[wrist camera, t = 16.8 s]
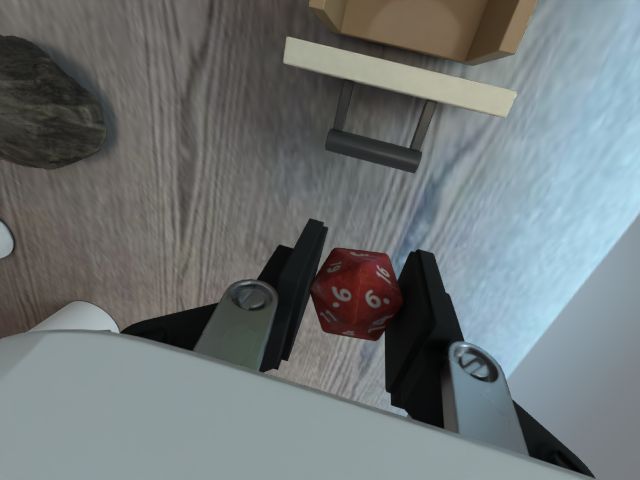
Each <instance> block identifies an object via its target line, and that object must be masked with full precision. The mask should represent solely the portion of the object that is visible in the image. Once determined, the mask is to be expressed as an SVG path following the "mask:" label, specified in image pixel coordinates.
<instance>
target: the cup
mask: <svg viewBox="0 0 640 480" xmlns="http://www.w3.org/2000/svg"><path fill="white" fill-rule="evenodd" d="M53 329H86V330H111V332H115V333H119V329H118V327H117V325H116V323H115V322H114V320H113V319H112V318H111V317H110V316H109V315H108V314H107V313H106V312H105V311H103V310H102V309H101V308H99V307H97V306H95V305H93V304H91V303H88V302H84V301H74V302H71V303H69V304H68V305H66V306H65V307H63V308H62V309H60V310H59V311H57V312H56V313H55V314H53V315H52V316H50V317H49V318H47V319H46V320H44V321H43V322H41V323H40V324H38V325H37V326H35V327H34V328H32V329H31V330H29V331H28V332H33V331H42V330H53Z"/></svg>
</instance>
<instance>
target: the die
mask: <svg viewBox="0 0 640 480" xmlns="http://www.w3.org/2000/svg"><path fill="white" fill-rule="evenodd" d="M309 290H310V293H311V297H312V300H313V303H314V306H315V309H316V312H317V315H318V318H319V321H320V324H321V327H322V330H323V331H324V332H326V333H331V334H337V335H342V336H348V337H353V338H359V339H365V340H371V341H377V340H378V339H379V338H380V337H381V335H382V334H383V332H384V331H385V330H386V328H387V327H388V325H389V324H390V322H391V321H392V320H393V318H394V317H395V315H396V314H397V312H398V311H399V310H400V308H401V307H402V305H403V298H402V295H401V292H400V289H399V286H398V282H397V279H396V276H395V273H394V270H393V267H392V264H391V261H390V258H389V256H388V255H387V254H385V253H378V252H370V251H362V250H354V249H345V248H334V249H333V250H332V251H331V253H330V254H329V256H328V258H327V259H326V261H325V262H324V264H323V265H322V267H321V269H320V270H319V272H318V274H317V275H316V277H315V279H314V280H313V282H312V284H311V285H310V288H309Z"/></svg>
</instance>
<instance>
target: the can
mask: <svg viewBox="0 0 640 480" xmlns="http://www.w3.org/2000/svg"><path fill="white" fill-rule="evenodd" d="M13 247H14V239H13V236H12V234H11V232H10V231H9V229H8V228H7V226H6V225H5V224H4V223H3V222H2V221H1V220H0V259H1V258H3V257H5V256H7V255H9V254H10V253H11V252H12V249H13Z"/></svg>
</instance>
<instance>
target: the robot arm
mask: <svg viewBox="0 0 640 480" xmlns="http://www.w3.org/2000/svg"><path fill="white" fill-rule="evenodd" d="M323 225H324V222H321V221H317V220H314V219H309V221H308V223H307V224H306V226H305V228H304V230H303V232H302V234H301V236H300V238H299V239H298V241H297V243H296V245H295V247H294V249H293V248H290V247H286V246H283V245H279V246H278V247H277V249H276V250H275V252H274V253H273V255H272V256H271V258H270V260H269V261H268V263H267V264H266V266H265V267H264V269H263V271H262V272H261V274H260V275H259V277H258V278H257V280H253V279H248V280H241V281H237V282H235V283H233V284H231V285H230V286H229V287H228V288H227V290H226V291H225V293H224V295H223V296H222V298H221V300H220V302H219V303H215V304H211V305H206V306H202V307H198V308H194V309H190V310H186V311H182V312H177V313H173V314H169V315H165V316H161V317H157V318H153V319H148V320H144V321H141V322H138V323H135V324H132V325H131V326H129V327H127V328H125V329H124V330H123V331H121V332H120V333H115V332H111V330H86V329H53V330H42V331H33V332H26V333H20V334H16V335H12V336H8V337H5V338H1V339H0V480H598V479H596V478H595V477H594V475H593V474H592V473H591V471H590V470H589V469H588V467H587V466H586V465H585V464H584V463H583V462H582V461H581V460H580V459H579V458H578V457H577V456H576V455H575V454H574V453H572V452H571V451H570V450H569V449H568V448H567V447H566V446H564V445H563V444H562V443H561V442H560V441H559V440H558V439H557V438H555V437H554V436H553V435H552V434H551V433H550V432H549V431H548V430H546V429H545V428H544V427H543V426H542V425H540V424H539V423H538V422H537V421H536V420H535V419H534V418H533V417H532V416H531V415H529V414H528V413H527V412H526V411H525V410H524V409H523V408H521V407H520V406H519V405H518V404H517V403H516V402H515V401H514V400H512V398H511V395H510V391H509V388H508V385H507V382H506V378H505V375H504V372H503V370H502V368H501V366H500V365H499V364H498V362H497V361H496V360H495V359H494V358H493V357H492V356H491V355H490V354H489V353H487V352H486V351H484V350H483V349H481V348H480V347H478V346H476V345H474V344H471V343H467V342H465V341H464V338H463V335H462V332H461V329H460V325H459V322H458V319H457V316H456V313H455V310H454V307H453V304H452V301H451V298H450V295H449V294H448V293H446V292H445V289H444V285H443V282H442V279H441V276H440V272H439V269H438V266H437V263H436V259H435V256H434V254H433V253H430V252H427V251H423V250H419V249H418V250H416V252H412V251H411V252H410V254H409V256H408V258H407V260H406V263H405V265H404V267H403V269H402V272H401V274H400V276H399V279H398V281H397V282H398V286H399V289H400V292H401V295H402V298H403V305H402V307H401V308H400V310H399V311H398V312H397V314H396V315H395V317H394V318H393V320H392V321H391V322H390V324H389V325H388V327H387V328H386V330H385V387H386V392H389V393H391V405H392V406H395V407H398V408H402V409H405V411H406V412H407V413H408V415H407V417H404V416H401V415H397V414H394V413H391V412H388V411H385V410H382V409H378V408H375V407H372V406H369V405H366V404H362V403H359V402H356V401H353V400H350V399H346V398H343V397H340V396H337V395H334V394H330V393H327V392H324V391H321V390H318V389H314V388H311V387H308V386H305V385H301V384H298V383H295V382H292V381H288V380H285V379H282V378H279V377H275V376H272V375H269V374H266V373H264V372H266V371H268V370H271V369H277V370H278V368H279V365H280V362H281V360H285V361H288V359H289V356H290V353H291V350H292V347H293V344H294V341H295V338H296V335H297V332H298V329H299V326H300V323H301V320H302V317H303V315H304V312H305V309H306V306H307V303H308V300H309V297H310V294H311V293H310V290H309V288H310V285H311V284H312V282H313V280H314V279H315V276H316V272H317V269H318V265H319V261H320V257H321V254H322V250H323V246H324V242H325V239H326V235H327V231H328V227H324V226H323Z"/></svg>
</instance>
